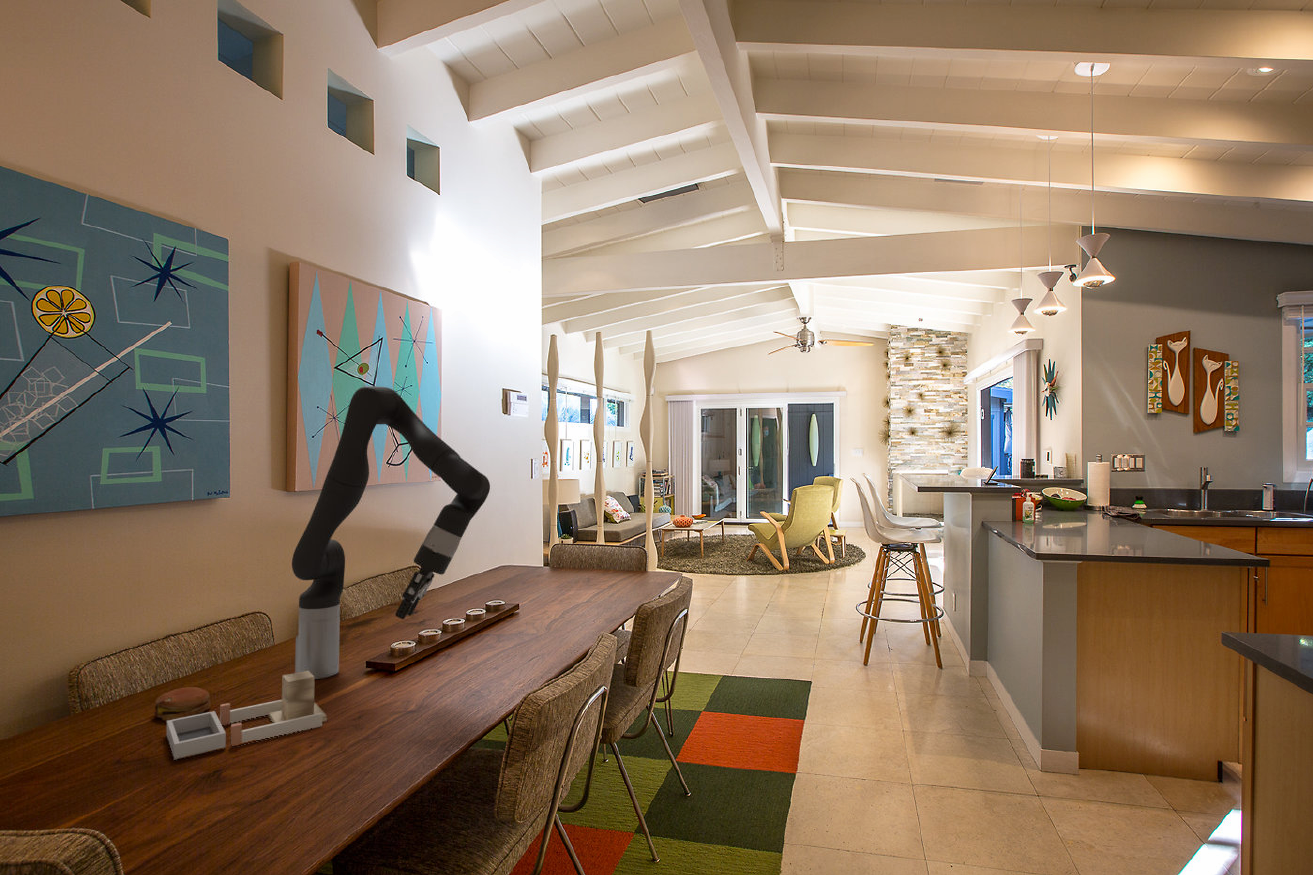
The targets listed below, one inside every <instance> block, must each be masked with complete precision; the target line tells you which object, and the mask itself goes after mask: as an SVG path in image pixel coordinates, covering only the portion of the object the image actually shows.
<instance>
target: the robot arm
mask: <svg viewBox="0 0 1313 875" xmlns="http://www.w3.org/2000/svg"><path fill="white" fill-rule="evenodd" d="M346 412H347V413H346V416H345V420H344V424H343V429H342V431H341V435H340V439H339V442H338V445H337V448H336V450H335V453H334V455H333V456H334V457H333V460H332V461H331V465H330V466H329V469H328V471H327V474H326V476H325V480H324V482H323V483H322V487H321V489H320V494H319V497H318V499H317V502H316V504H315V506H314V509H313V511H312V514H311V516H310V519H309V521H308V523H307V525H306V527H305V529H304V531H303V532H302V535H301V536H300V539H299V541H298V542H297V545H296V547H295V550H294V551H293V555H292V559H291V568H292V572H293V574H294V576H295V577H296V578H297V579H299V580H302V581H312V580H313V581H312V583H311V585H310V586H309V587H308V588H307V589H305V591H304V592H302V593H301V594H300V595H299V598H298V635H296V636H295V663H294V664H295V668H294V669H295V670H294V671H295V672H294V673H298V672H304V671H309V672H310V673H311V674H312V675H313V676H314V677H315V678H314V680H318V679H325V678H329V677H332V676H334V675H337V674H338V673H339V669H340V616H341V615H340V613H341V611H340V608H341V607H340V606H341V604H340V603H341V596H342V594H343V592H344V586H345V585H344V583H345V570H346V554H345V550H344V547H343V546H342V545H341V543H340V542H339V541H337V540H335V539H332V537H333V535H334V534H335V532H336V530H337V529H338V528H339V526H340V525H341V524H342V523H343V522H344V521H345V520H347V518H348V517H349V515H351V513H352V512H353V511H354V510H355V509H356V508H357V506H358V505H359V504H360V501H361V499H362V497H363V494H364V492H365V489H366V487H367V484H368V482H369V478H370V465H369V457H368V447H369V444H370V440H371V438H372V434H373V432H374V430H375V428H376V426H377V425H385V426H388V427H390V428H391V429H393V430H395V431H396V432H397V433H398V434H400V435H401V436H402V437H403V438H404V439H405V440H406V442H407V443H408V445H409V447H410V449H411V451H412V452H413V454H414V455H415V456H416V458H417V459H418V460H419V461H420V462H421V463H422V464H423V465H424V466H426V467H427V468H428V469H429V470H430V471H431V472H433V473H434V474H435V475H437V476H438V477H439V478H441V479H442V481H443V482H444V483H445V484H446V485H447V486H448V487H449V488H450V489H451V490H452V491H454V493H456V495H455V497H454V498H453V500H452V501H451V502H450V503H449V504H445V505H444V506H443V508H442V509H441V510H440V512H439V514H438V516H437V518H436V520H435V522H434V523H433V525H432V527H431V528H430V530H429V531H428V533H427V534H426V535H425V537H424V540H423V542H422V543H421V545H420V546H419V549H418V551H417V553H416V554H415V556H414V559H413V563H414V564H415V565H417V566H419V567H420V569H419V570H418V571H415V572H414V573H413V575H412V576H411V579H410V582H409V583H408V585H407V587H406V589H405V591H404V592H403V593H402V601H401V602H400V604H399V606H398V608H397V610H396V611H395V613H394V614H395V615H394V616H395V617H397V618H399V619H401V620H405V619H406V617H407V616H412V615H413V614H414V611H415V610H416V608H417V606H418V604H419V602H421V600H422V599H423V597H425V595H426V593H427V591H428V589H429V587H430V586H431V584H432V583H433V581H434V580H433V578H435V574H437V575H441V576H443V575H444V574H445V573H446V571H447V569H448V567H449V565H450V563H451V561H452V559H453V558H454V556H455V554H456V551H457V550H458V547H459V545H460V542H461V540H462V538H463V537H464V536H463V535H464V534H465V533H466V530H467V528H468V526H469V524H470V522H471V520H472V519H473V518H474V516H476V514H477V513H478V512H479V510H480V509H481V507H482V506H483V504H484V503H485V502H486V500H487V498H488V496H489V494H490V490H491V484H490V481H489V479H488V477H487V476H486V475H484V474H483V473H482V472H480V471H479V470H478V469H477V468H475V467H474V466H472V465H471V464H470V463H468V462H467V461H466V460H465V459H463V458H462V457H461V456H460V454H459V453H458V452H457V451H455V449H454V448H452V447H451V446H450V445H448V444H447V443H446V442H445V441H444V440H443V439H441V438H440V437H439V436H438V435H437V434H436V433H434V431H433V430H431V429H430V428H429V427H428V426H427V424H425V423H424V422H423V421H422V419H421V418H420V417H419V416H418V415H417V414H416V413H415V411H413V409H411V407H410V406H409V405H408V403H407V402H406V401H405V400H404V399H403V397H401V395H400V394H398V392H397V391H396V390H394V389H393V388H390V387H387V386H386V387H385V386H375V385H365V386H362V387H359V388H358V389H357V390H356V391H355V392H354V394H353V395H352V397H351V399H350V402H349V405H348V408H347V411H346ZM434 573H435V574H434Z"/></svg>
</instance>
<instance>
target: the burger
mask: <svg viewBox="0 0 1313 875" xmlns="http://www.w3.org/2000/svg"><path fill="white" fill-rule="evenodd" d="M211 701H212V700H211V699H210V693H209V692H208V691H207V690H205V689H203V688H200V687H196V686H195V687H193V686H190V687H188V686H187V687H186V686H185V687H182V688H176V689H173V690H170V691H168V692H165V693H163V694H161V695H160V696H158V698H156V700H155V703H154V704H155V707H154V709H155V711H154V712H153V715H156V716H157V718H158V719H162V720H163V721H164V722H167V721H168V720H173V719H178V718H183V717H188V716H193V715H198V714H203V713H205V711H207V710H209V709H210V708H211Z"/></svg>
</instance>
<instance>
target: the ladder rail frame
mask: <svg viewBox="0 0 1313 875" xmlns="http://www.w3.org/2000/svg"><path fill="white" fill-rule="evenodd" d="M280 710H282V699H278V700H273V701H268V702H263V703H258V704H254V705H249V706H245V707H240V708H239V707H238V708H235V709H231V704H230V702H227V703H222V704H220V705H219V721H220V723H221V725H224V726H227V724H228V725H230V746H231V745H232V746H234V745H238V744H241V743H244V742H248V741H252V740H261V739H265V738H269V739H271V738H270V737H273V738H275V737H274V736H278V737H280V736H279V735H282V736H285V735H284V734H286V735H289V733H290V734H293V732H295V733H298V732H297V731H299V732H302V730H303V731H308V730H310V729H311V728H312V729H316V728H319V727H322V726H323V722H322V713H317V714H313V715H308V716H304V717H299V718H295V719H290V720H286V721H282V722H277V723H270V724H263V725H259V726H255V727H251V728H247V729H242V728H243V724H242V722H243V721H242V720H245V721H247V720H246V719H250V720H252V719H251V718H254V719H257V718H256V717H259V716H264V717H266V716H265V715H268V716H269V713H271V712H276V711H280ZM259 718H260V717H259ZM239 721H240V722H239ZM234 722H236V723H234ZM230 723H231V724H230ZM312 729H311V730H312ZM265 740H266V739H265ZM261 741H262V740H261Z"/></svg>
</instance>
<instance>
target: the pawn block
mask: <svg viewBox="0 0 1313 875" xmlns="http://www.w3.org/2000/svg"><path fill="white" fill-rule="evenodd" d="M281 678H282V679H281V680H282V681H281V682H282V684H281V685H282V687H281V700H282V710H280V711H276V712H271V713H269V715H268V718H270V719H271V720H270V719H269V720H270V721H272V722H273V723H277V722H282V721H286V720H290V719H295V718H299V717H304V716H308V715H313V714H317V713H322V723H323V722H327V721H328V716H327V714H326V713H325V712H324V711H323V710H322V709H321V707H319V705H318V704H317V703H316V702H315V679H314V678H315V677H314V676H313V675H312V674H311V673H310V672H309V671H304V672H298V673H295V672H294V673H289V674H283V675H282V676H281ZM272 722H271V723H272ZM273 723H272V724H273Z"/></svg>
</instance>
